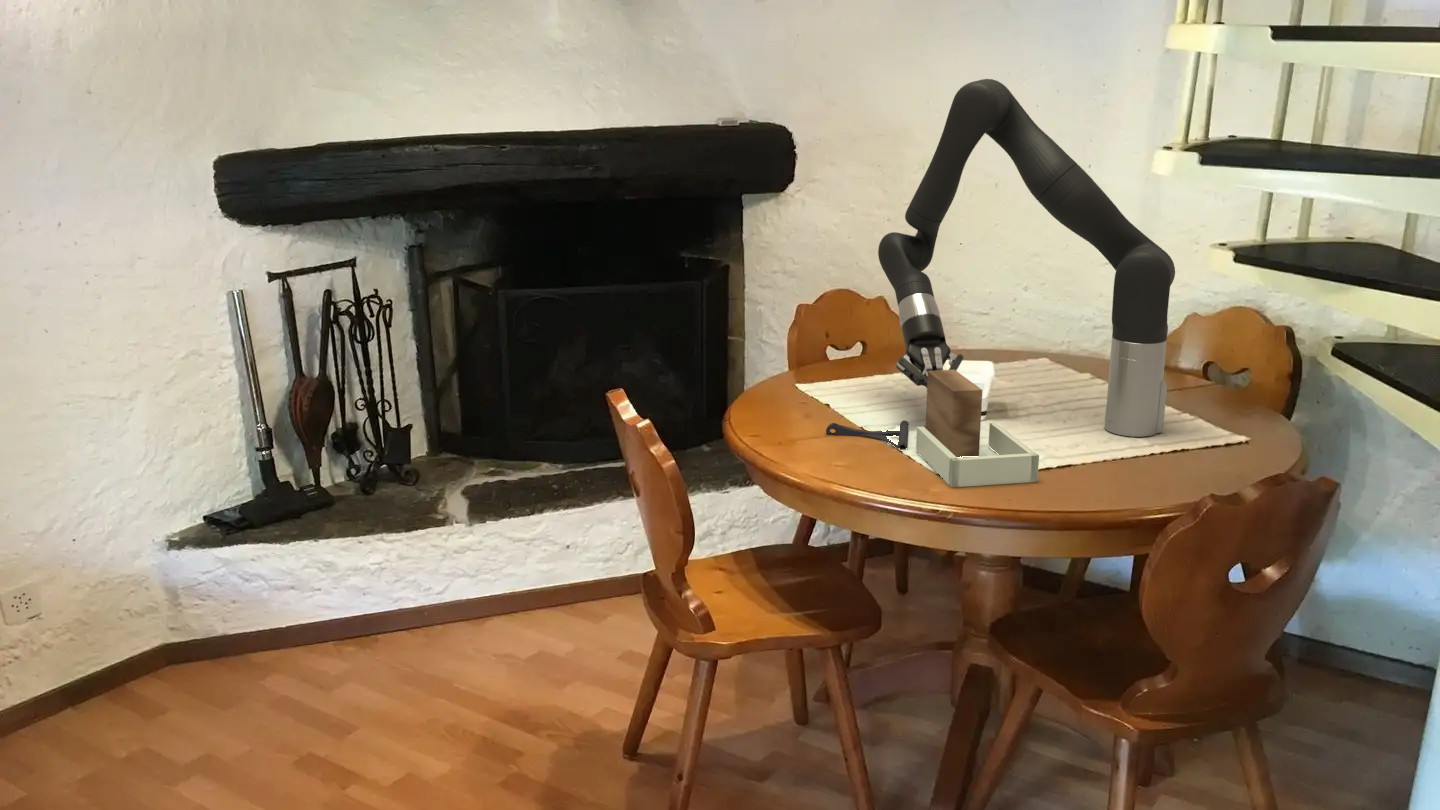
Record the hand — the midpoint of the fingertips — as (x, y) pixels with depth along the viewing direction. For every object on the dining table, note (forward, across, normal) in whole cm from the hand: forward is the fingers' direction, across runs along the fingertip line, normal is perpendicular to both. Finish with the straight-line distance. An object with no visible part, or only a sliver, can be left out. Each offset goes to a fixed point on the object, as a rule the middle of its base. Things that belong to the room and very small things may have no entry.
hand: (939, 402), depth 203 cm
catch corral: (+17, 0, -9) cm, 19 cm away
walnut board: (+9, 0, -1) cm, 10 cm away
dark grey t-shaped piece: (+4, -13, +5) cm, 15 cm away
